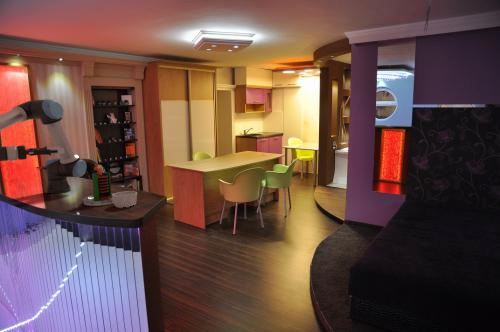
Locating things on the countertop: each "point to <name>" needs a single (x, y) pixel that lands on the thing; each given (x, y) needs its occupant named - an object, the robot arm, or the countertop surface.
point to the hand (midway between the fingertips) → (62, 149)
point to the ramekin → (124, 199)
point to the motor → (101, 185)
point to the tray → (90, 201)
